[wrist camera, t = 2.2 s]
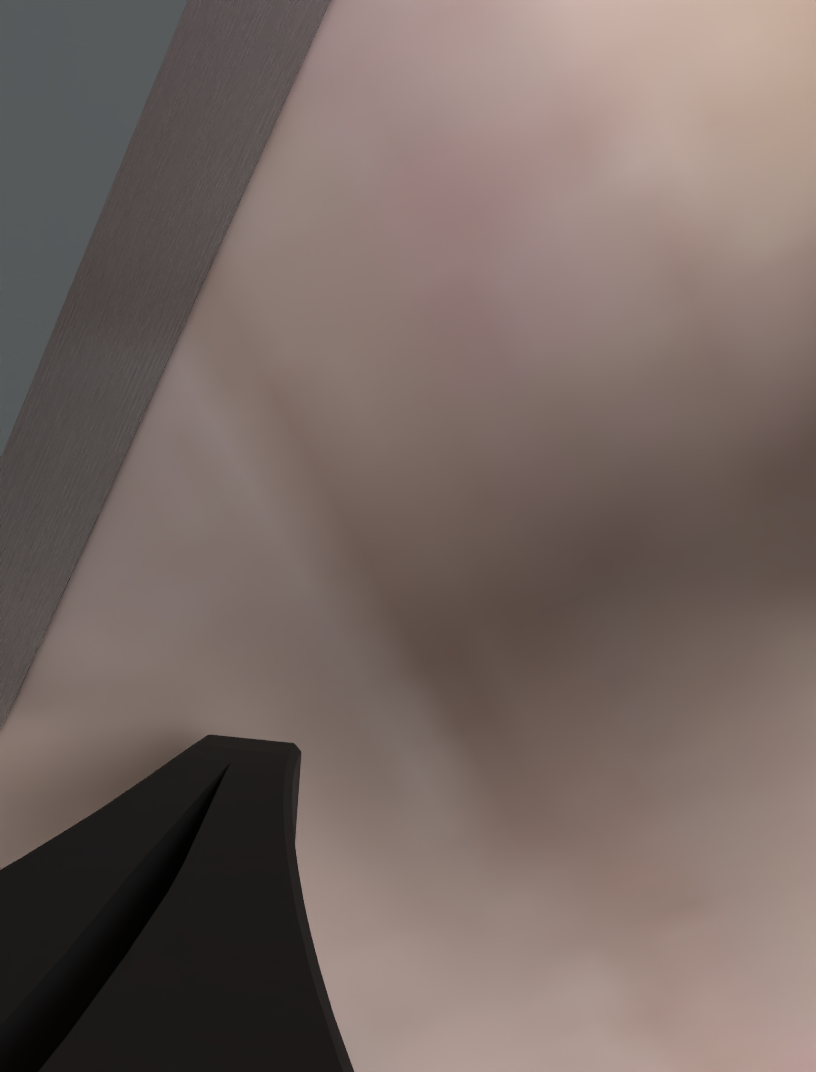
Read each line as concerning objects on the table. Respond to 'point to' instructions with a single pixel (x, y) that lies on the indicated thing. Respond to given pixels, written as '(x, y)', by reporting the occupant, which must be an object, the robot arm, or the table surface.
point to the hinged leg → (110, 243)
